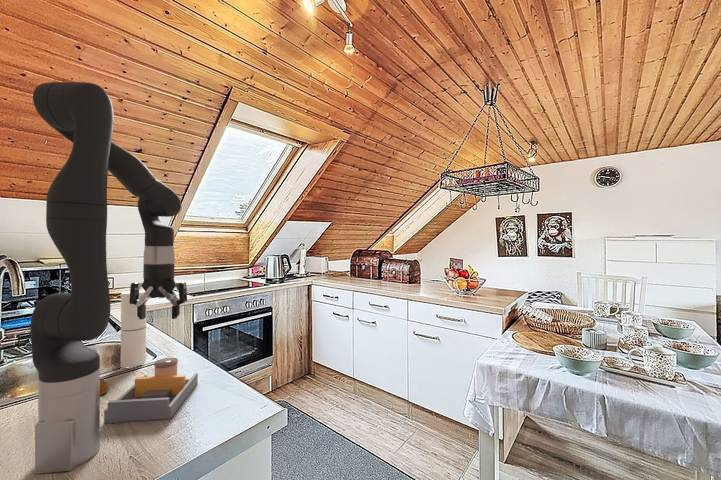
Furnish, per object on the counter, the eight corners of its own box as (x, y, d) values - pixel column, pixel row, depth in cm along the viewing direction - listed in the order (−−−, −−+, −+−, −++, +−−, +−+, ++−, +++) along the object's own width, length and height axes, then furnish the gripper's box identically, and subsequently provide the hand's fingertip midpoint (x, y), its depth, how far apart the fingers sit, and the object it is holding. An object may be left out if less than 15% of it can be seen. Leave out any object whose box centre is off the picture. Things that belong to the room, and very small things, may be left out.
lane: (170, 419, 79) (171, 399, 79) (104, 423, 77) (104, 402, 77) (197, 383, 98) (197, 367, 98) (144, 386, 96) (144, 369, 96)
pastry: (116, 389, 94) (116, 376, 94) (92, 401, 87) (92, 387, 87) (90, 385, 96) (90, 373, 96) (65, 397, 89) (65, 383, 89)
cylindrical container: (132, 369, 107) (133, 294, 106) (115, 367, 108) (115, 293, 108) (150, 361, 114) (151, 290, 113) (134, 359, 115) (134, 289, 115)
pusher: (179, 400, 87) (179, 381, 87) (128, 403, 85) (128, 384, 85) (185, 392, 91) (185, 375, 91) (137, 395, 89) (137, 377, 89)
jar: (172, 392, 91) (173, 364, 91) (150, 394, 90) (150, 365, 90) (180, 383, 96) (181, 357, 96) (159, 385, 95) (159, 358, 95)
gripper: (124, 262, 87) (123, 322, 87) (180, 263, 89) (180, 321, 89) (139, 260, 95) (138, 315, 95) (190, 261, 97) (190, 314, 97)
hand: (158, 318), depth 92 cm, fingers open, 8 cm apart
